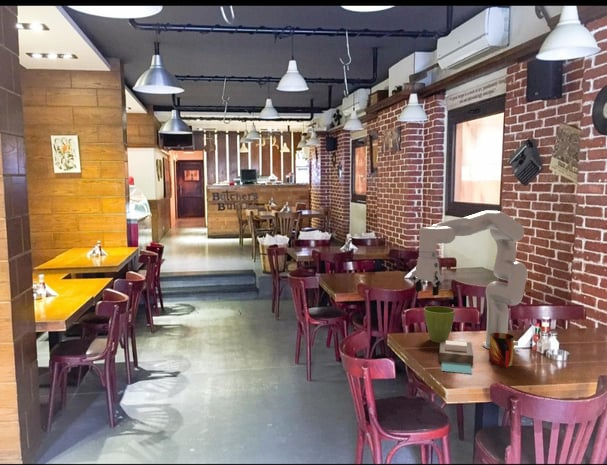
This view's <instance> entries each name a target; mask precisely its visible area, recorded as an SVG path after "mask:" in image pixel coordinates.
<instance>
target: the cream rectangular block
mask: <svg viewBox="0 0 607 465" xmlns="http://www.w3.org/2000/svg"><path fill="white" fill-rule="evenodd" d="M447 340H448V339H447ZM447 340H446V350H455V351H466V352H467V342H468V341H460V342H458V341H459V340H458V341H457V340H448V341H447Z"/></svg>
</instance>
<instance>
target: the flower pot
mask: <svg viewBox="0 0 607 465" xmlns="http://www.w3.org/2000/svg"><path fill="white" fill-rule="evenodd" d="M423 313H424V314H423V315H424V319H425V325H426V329H427V333H428V336H429V338H430V341H431V342H433V343H437V344H438V343H439V344H440V340H448V338H449V336H450V334H451V330H452V327H453V323H454V318H455V313H456V310H455V309H454V308H452V307H448V306H440V305H439V306H438V305H430V306H425V307H424V308H423Z"/></svg>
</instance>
